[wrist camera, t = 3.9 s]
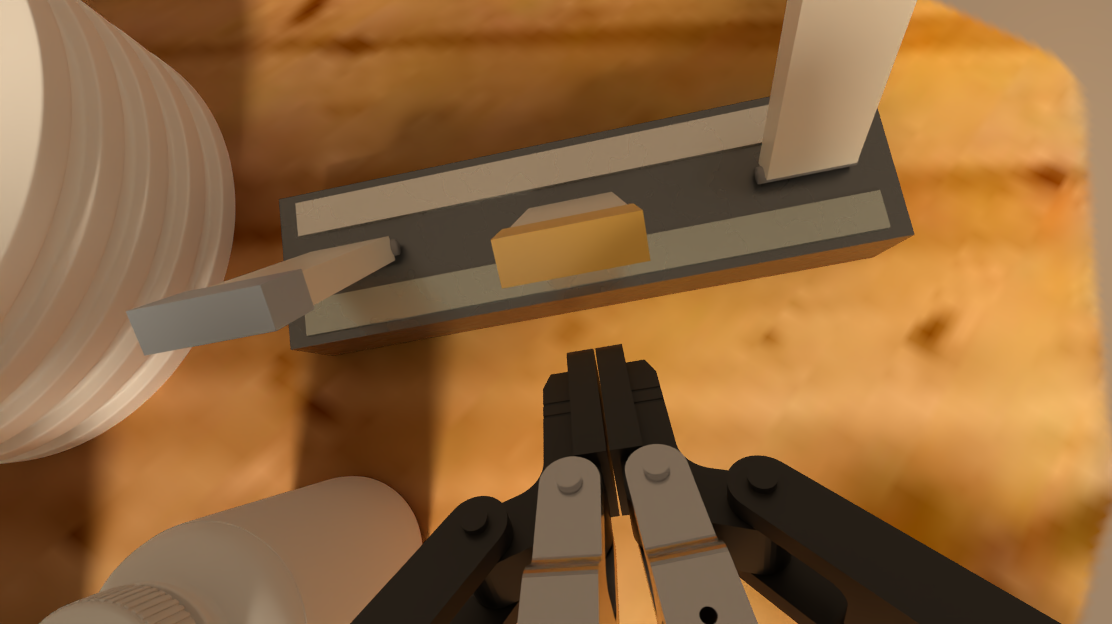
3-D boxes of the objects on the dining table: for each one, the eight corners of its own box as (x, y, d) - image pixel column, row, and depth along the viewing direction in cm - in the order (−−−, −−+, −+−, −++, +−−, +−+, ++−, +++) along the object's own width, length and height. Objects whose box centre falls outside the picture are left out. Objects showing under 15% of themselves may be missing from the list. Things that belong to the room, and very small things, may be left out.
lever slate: (403, 259, 27) (279, 330, 16) (320, 275, 27) (141, 356, 16) (395, 231, 27) (263, 284, 15) (312, 248, 27) (122, 312, 16)
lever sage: (858, 173, 25) (982, -151, 15) (761, 192, 25) (820, -113, 15) (846, 153, 25) (955, -167, 16) (751, 172, 26) (802, -130, 16)
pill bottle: (262, 520, 30) (-88, 642, 15) (386, 446, 30) (156, 496, 15) (322, 659, 28) (-1, 947, 13) (452, 582, 28) (271, 787, 13)
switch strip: (873, 257, 28) (916, 233, 24) (332, 355, 31) (288, 349, 27) (834, 118, 30) (869, 73, 25) (320, 223, 32) (276, 198, 28)
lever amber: (619, 217, 26) (654, 259, 15) (531, 234, 26) (498, 289, 15) (614, 187, 26) (646, 209, 14) (525, 206, 26) (487, 240, 15)
